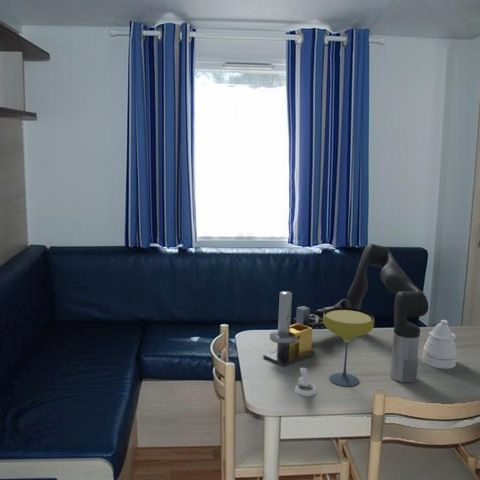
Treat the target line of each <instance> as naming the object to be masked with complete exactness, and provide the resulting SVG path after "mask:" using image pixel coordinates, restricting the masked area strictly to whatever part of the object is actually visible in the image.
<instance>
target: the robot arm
mask: <svg viewBox="0 0 480 480" xmlns="http://www.w3.org/2000/svg"><path fill="white" fill-rule="evenodd" d="M360 257H361V258H360V259H359V260H360V261H359V263H358V266H357V269H356V273H355V276H354V280H353V281H352V284H351V286H350V288H349V290H348V291H347V295H346V296H347V297H346V298H343V299H341V300H340V301H338V303H336V304H334V305H331V306H328V307H324V308H320V309H316V310H315V311H314V312H313V313H311V314H310V318H309V324H308V327H310V328H312V329H315V328H316V329H318V328H319V330H323V329H324V328H325V329H326V326H325V325H324V323H323V315H324V312H325V311H326V310H329V309H332V308H353V309H359V310H361V307H362V301H363V298H364V297H365V295H366V292H367V291H368V285H369V284H368V283H369V282H368V277H367V268H368V267H369V266H372V267H376V268H377V267H378V268H381V270H380V275H379V276H380V281H382V283H383V285H384V287H385V288H386V289H387V290H388V291H390V292H392V293H393V294H395V297H394V311H393V312H394V313H393V315H394V316H393V336H392V347H391V348H392V349H391V360H390V369H389V377H390V378H391V379H393V380H395V381H398V382H400V383H403V384H405V383H414V382H415V383H416V382H417V377H418V366H419V357H418V355H419V347H420V346H419V345H420V335H421V328H420V326H418V325H417V324H415V323H412V322H409V321H408V320H407V318H413V317H415V318H418V317H423V316H425V315H426V314H427V313H428V311H429V302H428V299H427V296H426V295H425V293H424V292H423V291H422V290H421V289H420V288H419V287H417V285H415V284H414V282H413V281H412V280H411V279H410V278H409V276H407V274H406V273H405V271H404V270H403V268H401V267H400V265H399V264H398V261H396V260H395V258H394V256H393V253H392V251H391V250H390V249H389V248H388V247H386V246H383V245H379V244H374V243H368V244H367V245H366V246H365V248H364V250H363V251H362V255H361V256H360ZM292 319H293V321H292V323H293V325H294V324H296V317H295V318H292Z"/></svg>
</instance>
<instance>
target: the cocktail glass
mask: <svg viewBox="0 0 480 480" xmlns="http://www.w3.org/2000/svg"><path fill="white" fill-rule="evenodd" d="M323 323H324V325H325V326H326V327H325V329H327V330H328V331H330V332H331V333H333V334H334V335H337V336H339V337H341V339H342V340H343V341H344V342H345V351H344V352H345V353H344V363H343V372H337V373H333V374H331V375H330V376H329V378H328V379H329V381H330V382H331V383H332V384H333V385H336V386H340V387H346V388H347V387H349V388H350V387H355V386H357V385H358V384H359V383H360V379H359V378H358V377H357V376H355V375H353V374H350V373H347V358H348V357H347V356H348V346H349V344H348V343H350V342H351V341H352V340H353V339H355V338H359V337H361V336H364V335H368V333H370V332H371V331H372V330H373V329H374V327H375V318H374V316H373V314H371V313H369V312H368V311H366V310H363V309H360V310H359V309H353V308H332V309H329V310H326V311H325V312H324V315H323Z"/></svg>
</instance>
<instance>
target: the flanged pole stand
mask: <svg viewBox="0 0 480 480" xmlns="http://www.w3.org/2000/svg"><path fill="white" fill-rule="evenodd" d="M278 299H279V302H278V303H279V304H278V322H277V323H278V324H277V325H278V326H277V330H276V331H275V330H274V331H272V332H271V333H270V334H269V340H270V341H271V342H272V343H273V342H274V343H276V350H273V351H269V352H267V353H265V354H262V355H263V357H262V358H263V359H265V360H268V361H269V362H272V363H274V364H276V365H278V366H281V367H283V368H284V367H286V366H288V365H291V364H294V363H297V362H300V361H302V360H304V359H308V358H309V357H312V356H315V355H316V351H314V350H312V344H313V343H312V342H313V341H312V340H313V339H312V338H313V328H310V327H308V326H305V325H302V324H300V323H297V324H294V323H293V324H292V325H291V321H292V320H291V319H292V301H293V292H291V291H280V292H279V298H278Z"/></svg>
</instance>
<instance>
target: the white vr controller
mask: <svg viewBox="0 0 480 480" xmlns="http://www.w3.org/2000/svg"><path fill="white" fill-rule="evenodd" d="M299 370H300V374H301V376H299V378H298V380H297V381H298V383H297V384H296V386H295V388H294V392H295V393H296V394H297V395H299V396H304V397H312V396H314V395H315V394H317V389H316V386H315V385H314V384H311V377H310V374H309V371H308V369H307V368H306V367H300V368H299ZM301 387H307V388H310V390H304V389H301Z"/></svg>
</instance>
